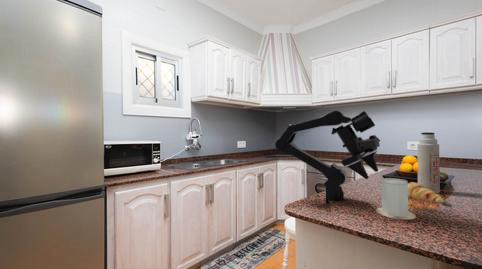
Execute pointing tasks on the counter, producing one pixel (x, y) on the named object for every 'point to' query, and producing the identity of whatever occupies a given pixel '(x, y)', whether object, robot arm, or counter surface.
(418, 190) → the croissant
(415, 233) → the counter surface
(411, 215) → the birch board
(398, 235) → the counter surface
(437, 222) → the counter surface
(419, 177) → the thermos bottle
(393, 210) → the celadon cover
